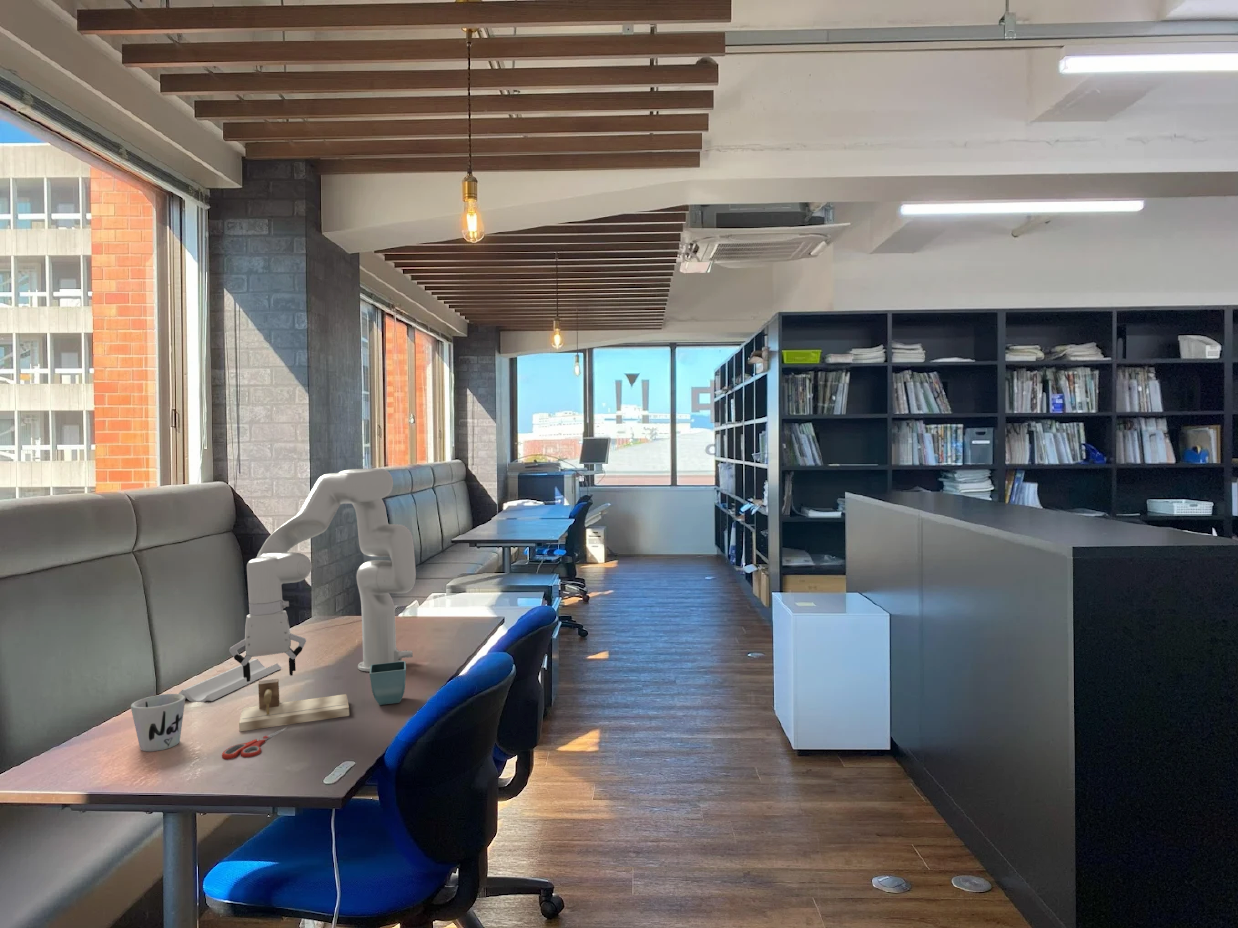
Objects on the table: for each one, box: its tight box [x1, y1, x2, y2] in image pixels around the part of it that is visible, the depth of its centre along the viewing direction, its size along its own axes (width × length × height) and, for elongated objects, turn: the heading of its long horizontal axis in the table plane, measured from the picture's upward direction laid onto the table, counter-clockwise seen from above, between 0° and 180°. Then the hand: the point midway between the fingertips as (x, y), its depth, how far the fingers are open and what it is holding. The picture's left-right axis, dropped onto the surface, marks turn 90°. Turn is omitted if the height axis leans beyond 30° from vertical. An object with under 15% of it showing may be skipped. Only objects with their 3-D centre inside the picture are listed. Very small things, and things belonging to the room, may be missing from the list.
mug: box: [130, 693, 186, 753], centre depth 176 cm, size 10×15×10 cm
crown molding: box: [178, 658, 282, 703], centre depth 223 cm, size 31×12×4 cm, turn 171°
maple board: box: [238, 693, 350, 732], centre depth 193 cm, size 24×12×2 cm, turn 112°
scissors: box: [221, 726, 288, 760], centre depth 176 cm, size 8×21×2 cm, turn 179°
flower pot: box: [368, 660, 407, 706], centre depth 202 cm, size 9×9×9 cm
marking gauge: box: [257, 678, 281, 715], centre depth 191 cm, size 4×13×8 cm, turn 22°
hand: (270, 677), depth 195 cm, fingers open, 9 cm apart
